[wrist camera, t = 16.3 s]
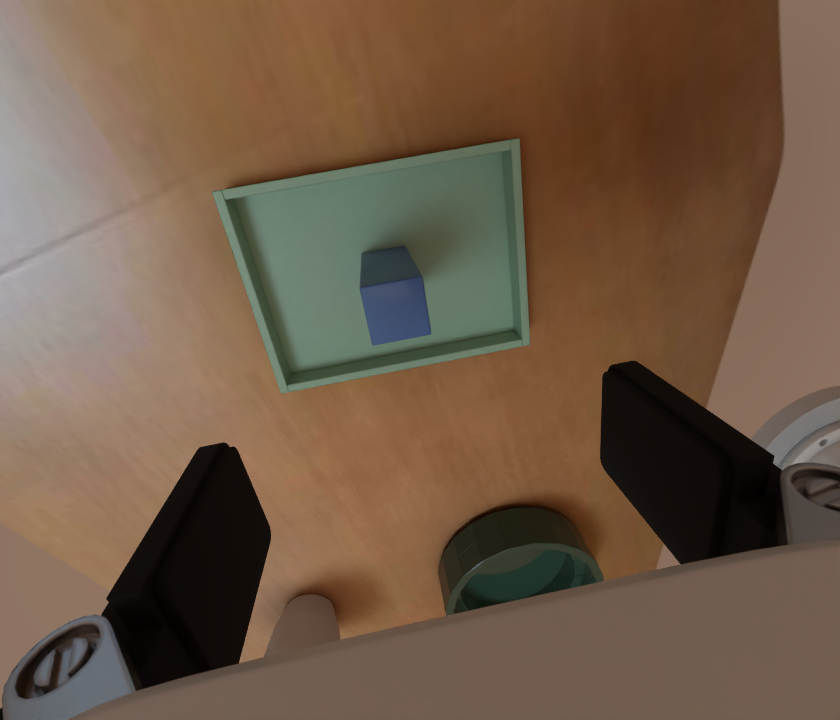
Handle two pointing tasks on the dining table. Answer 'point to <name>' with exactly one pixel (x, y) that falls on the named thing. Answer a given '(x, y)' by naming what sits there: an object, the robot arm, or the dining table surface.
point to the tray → (375, 230)
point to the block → (393, 296)
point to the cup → (304, 625)
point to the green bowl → (514, 559)
